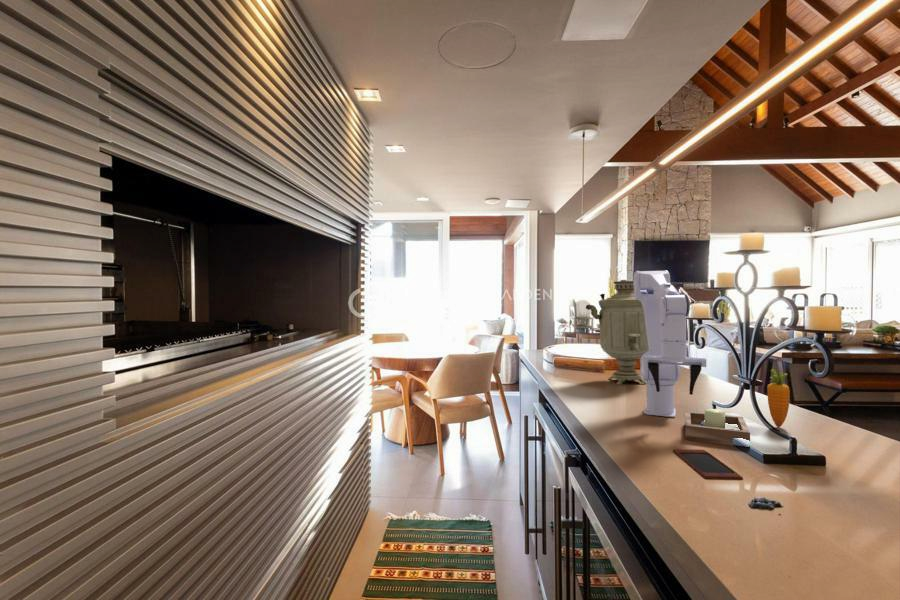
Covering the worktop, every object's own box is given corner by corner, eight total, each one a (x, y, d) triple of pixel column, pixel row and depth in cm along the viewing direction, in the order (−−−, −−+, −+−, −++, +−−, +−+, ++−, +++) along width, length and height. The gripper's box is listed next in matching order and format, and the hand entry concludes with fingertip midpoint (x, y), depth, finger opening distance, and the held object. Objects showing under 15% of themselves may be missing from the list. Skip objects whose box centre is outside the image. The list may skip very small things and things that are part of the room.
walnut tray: (685, 424, 119) (685, 411, 119) (742, 430, 113) (742, 416, 112) (685, 439, 106) (685, 425, 106) (750, 447, 100) (750, 432, 100)
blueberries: (804, 519, 71) (805, 507, 71) (763, 521, 69) (764, 509, 69) (766, 500, 77) (766, 489, 77) (727, 501, 76) (728, 490, 76)
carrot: (794, 430, 112) (794, 371, 112) (772, 429, 113) (772, 371, 113) (784, 424, 117) (783, 368, 116) (763, 424, 118) (762, 368, 117)
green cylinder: (704, 427, 112) (704, 408, 112) (724, 429, 110) (724, 409, 110) (704, 432, 108) (704, 412, 108) (725, 434, 106) (725, 414, 106)
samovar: (582, 387, 166) (581, 281, 165) (588, 374, 190) (588, 282, 190) (670, 393, 155) (669, 279, 154) (665, 379, 179) (664, 280, 178)
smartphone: (705, 476, 84) (672, 448, 99) (705, 480, 84) (672, 452, 99) (744, 476, 84) (704, 449, 99) (744, 481, 84) (704, 453, 99)
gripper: (642, 341, 115) (643, 392, 115) (706, 343, 108) (707, 398, 108) (644, 338, 121) (645, 387, 121) (705, 340, 114) (705, 392, 115)
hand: (674, 392), depth 115 cm, fingers open, 7 cm apart
